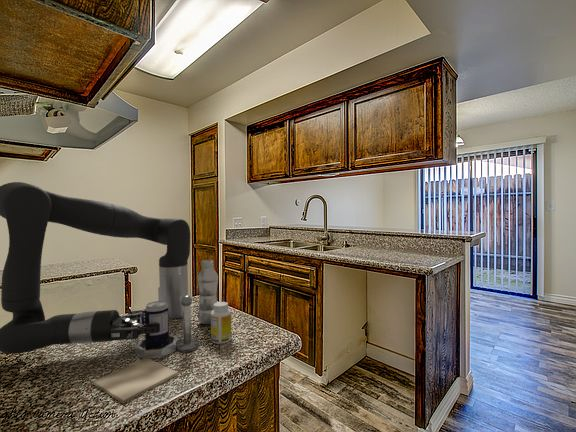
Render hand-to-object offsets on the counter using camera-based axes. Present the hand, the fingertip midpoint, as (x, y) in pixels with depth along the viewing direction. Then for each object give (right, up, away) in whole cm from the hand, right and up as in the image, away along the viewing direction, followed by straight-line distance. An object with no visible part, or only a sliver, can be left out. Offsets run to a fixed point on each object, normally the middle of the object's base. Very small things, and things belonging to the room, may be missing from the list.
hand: (163, 321), depth 81 cm
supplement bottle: (+14, -7, +5) cm, 17 cm away
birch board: (0, -8, -14) cm, 16 cm away
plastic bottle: (+7, -7, +18) cm, 21 cm away
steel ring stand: (+1, -7, 0) cm, 7 cm away
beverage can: (-1, -7, 0) cm, 8 cm away
